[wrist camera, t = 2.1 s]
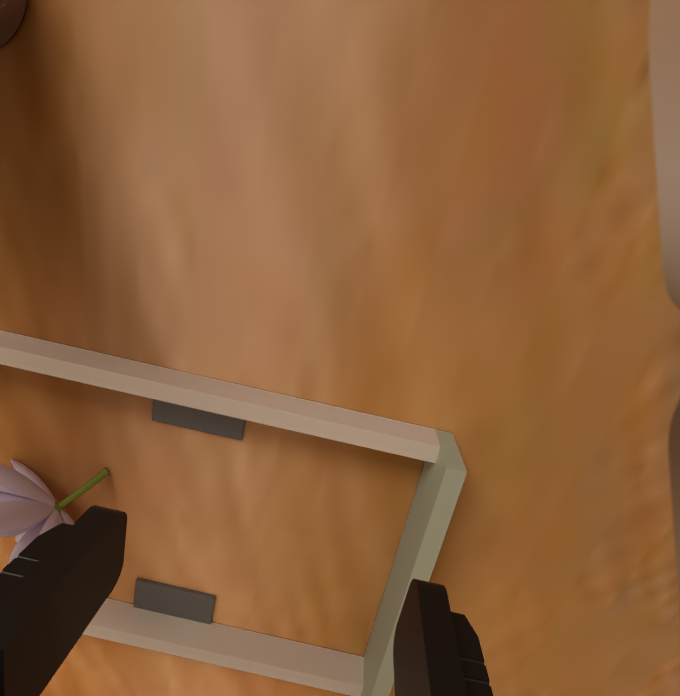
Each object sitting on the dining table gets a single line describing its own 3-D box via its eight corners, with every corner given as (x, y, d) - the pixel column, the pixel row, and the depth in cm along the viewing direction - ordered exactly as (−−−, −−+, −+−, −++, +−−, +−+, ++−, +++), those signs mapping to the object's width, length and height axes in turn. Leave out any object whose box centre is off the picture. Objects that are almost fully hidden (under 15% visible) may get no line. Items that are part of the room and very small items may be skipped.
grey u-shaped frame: (-36, 576, 46) (-95, 628, 40) (-49, 318, 37) (-124, 337, 32) (374, 670, 46) (375, 736, 40) (452, 433, 37) (467, 472, 32)
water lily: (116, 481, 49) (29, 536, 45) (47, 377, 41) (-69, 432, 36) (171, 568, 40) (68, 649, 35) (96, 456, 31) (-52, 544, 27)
